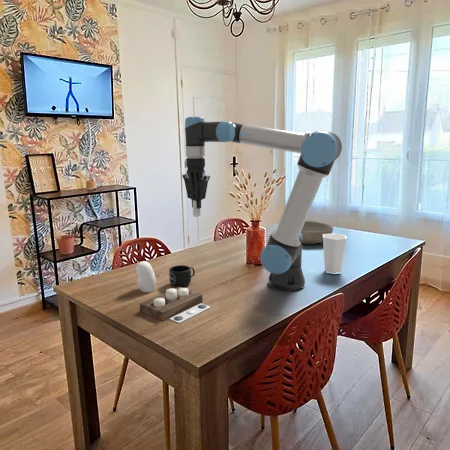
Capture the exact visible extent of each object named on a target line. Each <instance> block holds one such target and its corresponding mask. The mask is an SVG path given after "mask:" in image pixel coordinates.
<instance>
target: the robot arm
mask: <svg viewBox="0 0 450 450" xmlns="http://www.w3.org/2000/svg"><path fill="white" fill-rule="evenodd" d="M184 134H185V157H186V159H185V166H186V168H187V170H186V173H185V174H182V175H181V176H182V178H183V181H184V184H185V191H186V196H187V198H188V199H190V201H191V208H192V215H193V216H192V217H195V218H196V217H197V218H198V217H201V208H202V200H204V199H206V195H207V190H208V184H209V180H210V178H211V177H210V175H207V173H206V171H205V167H206V158H205V156H206V153H205V152H206V148H205V147H206V144H205V143H229V142H230V143H236V144H244V145H247V146H248V145H250V146H255V147H260V148H266V149H271V150H276V151H277V150H278V151H285V152H288V153H295V154H296V153H297V154H300V155H299V158H298V161H297V164H296V165H297V167H298V170H299V171H298V173H297V176H296V179H295V181H294V184H293V185H292V189H291V191H290V193H289V194H290V195H289V196H288V199H287V202H286V204H285V206H284V210H283V213H282V215H281V217H280V220H279V223H278V224H277V227H276V230H275V229H274V231H271V232H270V234H269V238H268V240H267V243H266V245H265V246H264V247H263V248H262V250H261V253H260V264H261V265H262V267H263V268H264V269H265V270H266V271H267V272H269V277H268V282H267V283H268V285H269V286H270V287H271V288H273V289H275V290H278V291H285V292H286V291H288V292H293V291H292V290H295V291H298V290H297V289H300V288H302V287H304V288H305V286H306V280H305V276H304V272H303V269H302V257H303V256H302V255H303V244H302V241H303V239H302V234H301V230H302V228H303V226H304V223H305V221H307V218H308V215H309V213H310V210H311V208H312V206H313V203H314V200H315V198H316V196H317V193H318V191H319V188H320V185H321V184H322V181H323V179H324V178H326V177H329V175H330V173H331V170H332V169H333V166H334V164H335V161H336V160H337V159H338V158H339V157H340V155H341V153H342V149H343V146H342V141H341V139H340V137H339V136H338V135H337V134H336V133H334V132H331V131H327V130H326V131H325V130H316V131H307V132H306V133H303V132H297V131H296V132H295V131H291V130H283V129H275V128H269V127H263V126H255V125H250V124H241V123H238V122H232V121H225V120H223V121H205V118H204V117H203V116H188V117H186V118H185V119H184ZM304 285H305V286H304ZM302 289H303V288H302ZM300 290H301V289H300Z"/></svg>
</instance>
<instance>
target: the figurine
mask: <svg viewBox="0 0 450 450" xmlns="http://www.w3.org/2000/svg"><path fill="white" fill-rule="evenodd" d="M135 269H136V273H137V276H138V278H137V279H136V284H137V286H138V287H139V290H140V292H141V293H151V292H154V291H155V290H156V288H157V278H156V274H155V272H154V268H153V267H152V265H151V263H150V262H148V261H145V260H143V261H139V262H138V263H137V264H136V267H135Z"/></svg>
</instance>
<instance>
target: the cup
mask: <svg viewBox="0 0 450 450" xmlns="http://www.w3.org/2000/svg"><path fill="white" fill-rule="evenodd" d="M322 245H323V246H322V247H323V260H324V264H323V265H324V272H325V271H327V272H331V273H336V272H341V273H342V267H343V261H344V256H345V255H344V254H345V252H346V251H345V250H346V245H347V235H345V234H342V233H341V234H340V233H333V232H332V233H331V234H323V243H322Z"/></svg>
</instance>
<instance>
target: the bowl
mask: <svg viewBox="0 0 450 450" xmlns="http://www.w3.org/2000/svg"><path fill="white" fill-rule="evenodd" d="M333 231H334V227H333V226H332V225H330V224H328V223H324V222H318V221H313V220H312V221H311V220H306V221H305V223H304V226H303V228H302V230H301V234H302V239H303V241H302V243H303V244H304V245H318V244H317V243H320V244H323V243H322V242H323V234H331V233H333ZM303 244H302V245H303Z"/></svg>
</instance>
